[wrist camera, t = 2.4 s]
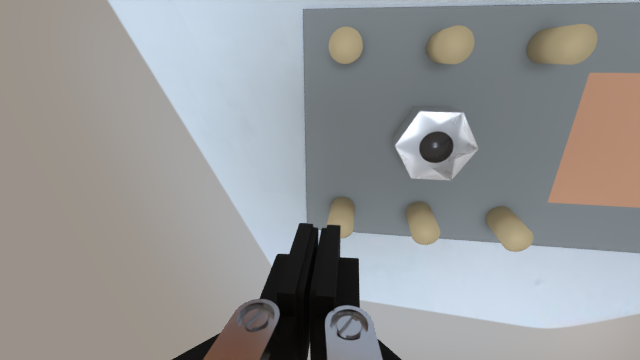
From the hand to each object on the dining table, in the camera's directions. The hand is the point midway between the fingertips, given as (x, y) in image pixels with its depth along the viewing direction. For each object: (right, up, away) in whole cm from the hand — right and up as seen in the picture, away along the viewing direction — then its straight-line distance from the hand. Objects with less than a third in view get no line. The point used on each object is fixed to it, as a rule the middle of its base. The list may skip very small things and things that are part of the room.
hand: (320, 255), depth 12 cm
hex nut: (+10, +7, +16) cm, 21 cm away
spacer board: (+18, +7, +16) cm, 25 cm away
